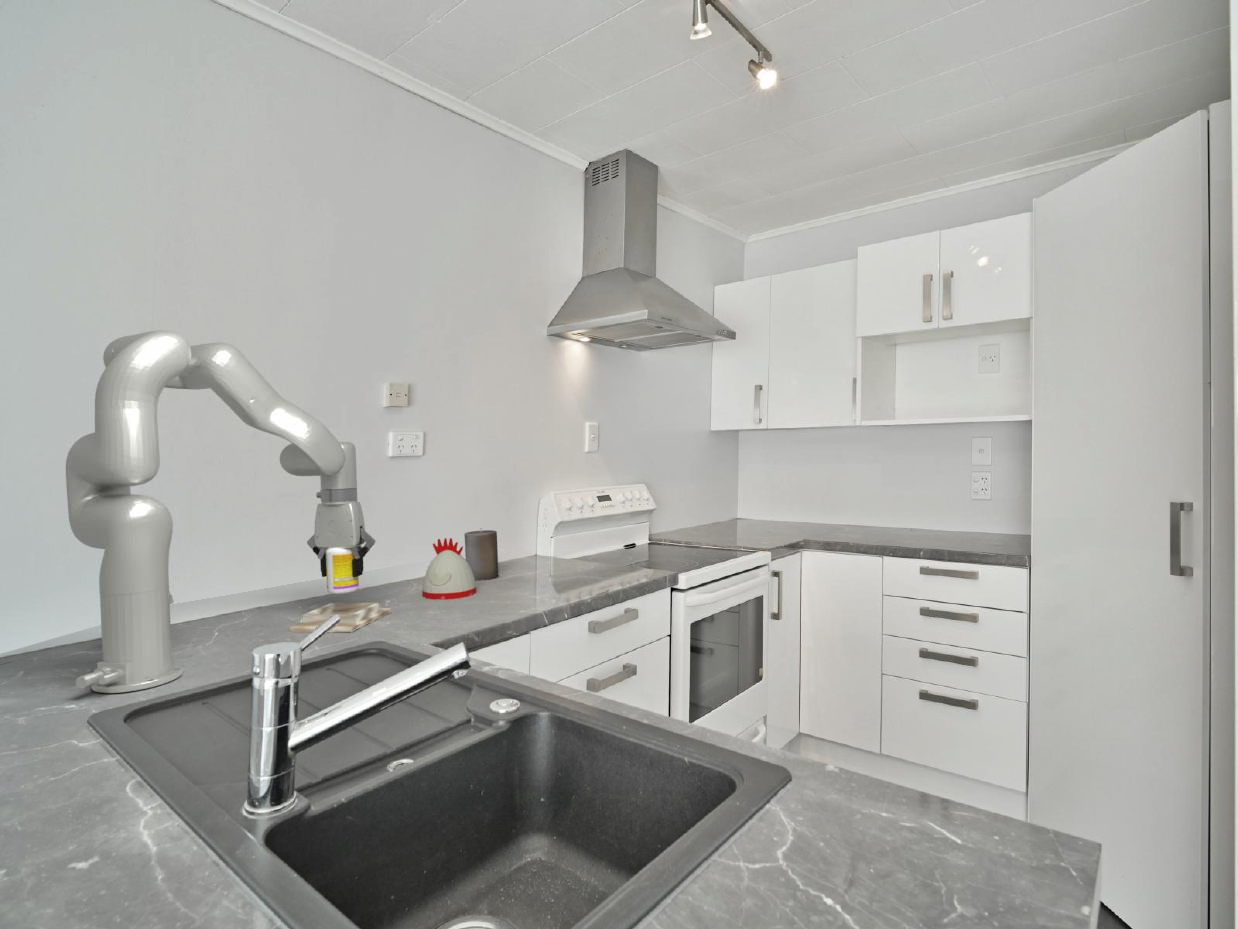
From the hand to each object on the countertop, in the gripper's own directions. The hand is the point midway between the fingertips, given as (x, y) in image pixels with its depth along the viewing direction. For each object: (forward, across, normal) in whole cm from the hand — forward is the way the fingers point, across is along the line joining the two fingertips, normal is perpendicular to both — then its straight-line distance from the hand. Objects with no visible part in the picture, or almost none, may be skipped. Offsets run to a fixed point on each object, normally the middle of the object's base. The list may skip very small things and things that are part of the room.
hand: (342, 575), depth 151 cm
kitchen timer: (+11, +13, +30) cm, 34 cm away
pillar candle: (+11, +14, +53) cm, 56 cm away
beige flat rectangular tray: (+11, 0, 0) cm, 11 cm away
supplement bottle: (+4, 0, 0) cm, 4 cm away
